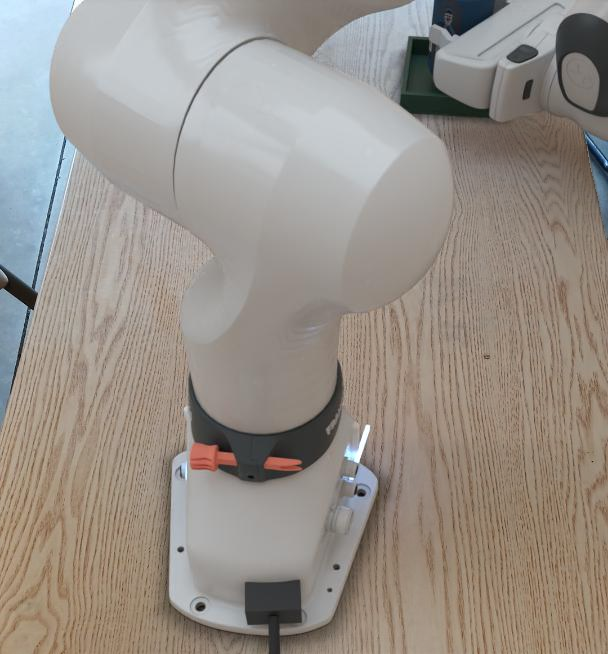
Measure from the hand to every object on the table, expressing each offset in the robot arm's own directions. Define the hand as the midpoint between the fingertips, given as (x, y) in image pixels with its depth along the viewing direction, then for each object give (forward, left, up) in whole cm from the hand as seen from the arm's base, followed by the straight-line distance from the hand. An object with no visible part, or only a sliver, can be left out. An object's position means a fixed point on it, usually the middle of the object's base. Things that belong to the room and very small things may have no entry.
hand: (455, 15), depth 97 cm
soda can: (-1, -1, -7) cm, 7 cm away
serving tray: (-1, -1, -8) cm, 8 cm away
